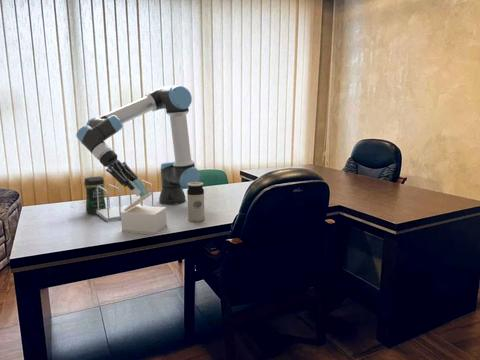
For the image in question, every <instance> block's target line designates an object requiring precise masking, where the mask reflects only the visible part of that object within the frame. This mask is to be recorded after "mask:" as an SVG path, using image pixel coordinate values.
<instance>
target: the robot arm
mask: <svg viewBox="0 0 480 360" xmlns="http://www.w3.org/2000/svg"><path fill="white" fill-rule="evenodd" d="M192 100H193V99H192V94H191V92H190V90H189V89H188V88H187V87H186V86H183V85H178V84H176V85H167V86H166V85H164V86H161V87H158V88H157V89H155V90H152V91H150V92H149V93H147V94H145V95H144V97H142V98H140V99H138V100H135V101H133V102H129V103H128V104H126V105H124V106H121V107H119V108H116V109H114V110H111V111H110V112H107V113H105V114H103V115H100V116H98V117H92V118H90V119H88V120H87V122H86V125H84V126H82V127H81V128H79V129H78V130H77V132H76V138H77V139H78V140H79V142H80V143H81V144H82V145H83V146H84V147H85V149H87V150H88V151H89V152H90V153H91V154H92V156H94V158H96V160H97V161H99V163H100V164H101V165H102V166H103V167H105V168H106V169H105V171H106V172H107V173H109V174H110V175H111V176H112V177H113V178H114V179H115V180H116V181H117V182H118V184H119V183H120V186H123V187H125V188H126V187H127V186H128V187H129V188H130V190H131V193H133V194H134V195H135V196H136V197H138V196H140V195H139V194H140V193H141V191H140V190H139V189H138V188H137V187H136V186H135V184H134V183H133V181H134V180H136V179H139V177H138V175H137V174H136V173H134V171H133V170H132V169H131V168H130V166H128V165H127V163H126V162H125V161H123V162H121V161H120V160H119V159H118V154H117V153H116V152H115V151H114V150H112V148H111V147H110V145H108V144H107V143H106V142H105V141H106V140H107V139H109V138H111V137H112V136H113V135H116V133H118V132H119V131H121V130H122V129H123V124H125V123H127V122H129V121H132V120H133V119H136V118H138V117H141V116H142V115H145V114H147V113H149V112H156V111H158V110H164V109H165V112H166V113H165V114H166V115H168V116H169V121H170V130H171V137H172V147H173V153H174V161H168V162H162V163H161V164H160V178H161V179H160V181H161V190H160V194H159V198H158V202H159V203H160V204H161V205H162V204H163V205H179V204H182V203H185V202H187V201H186V199H187V198H186V195H185V192H184V189H188V188H189V187H188V183H191V182H200V177H201V174H200V173H201V172H200V171H199V170H198V169H197V168H196V166H195V165H196V163H195V161H194V160H193V159H192V155H191V154H192V153H191V147H190V135H189V129H188V128H189V127H188V119H187V117H188V116H187V114H188V113H189V112H190V111H189V110H190V109H189V108H190V106H191V104H192V102H193V101H192ZM128 187H127V188H128ZM129 188H128V189H129Z"/></svg>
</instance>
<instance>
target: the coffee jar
mask: <svg viewBox="0 0 480 360" xmlns="http://www.w3.org/2000/svg"><path fill="white" fill-rule="evenodd" d="M83 183H84V186H83V187H84V188H85V190H86V191H85V192H86V195H85V196H86V202H85V211H86V212H87V213H88V214H97V213H96V210H98V203H97V186H100V187H102V188H104V187H105V181H104V178H103V176H90V177H85V178H84V182H83ZM104 189H105V188H104ZM104 192H105V191H104V190H103V189H101V188H99V187H98V198H99V210H100V209H106V208H107V203H106V201H105V194H104Z"/></svg>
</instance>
